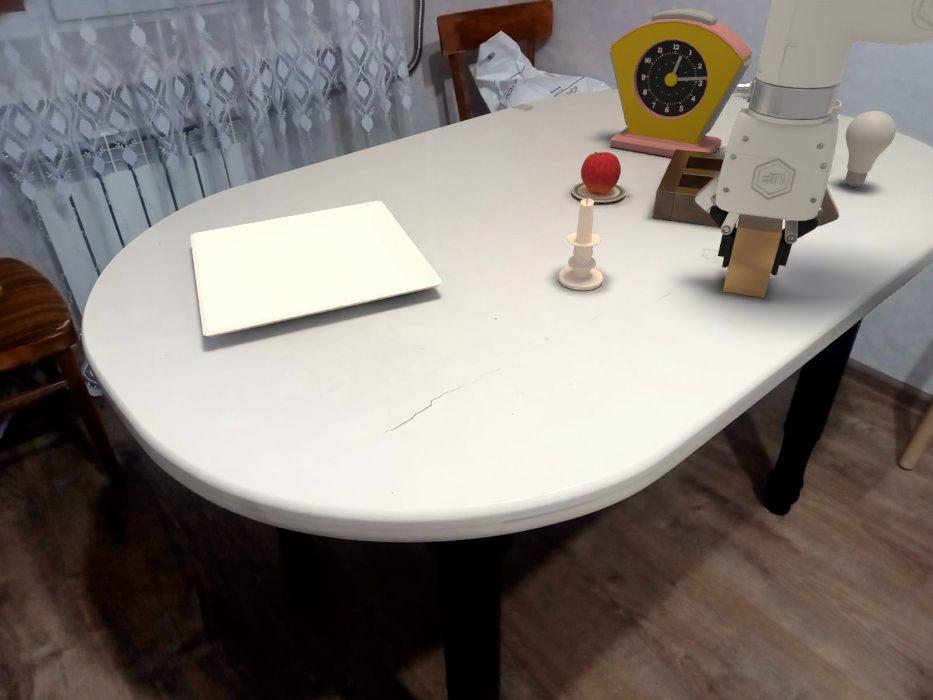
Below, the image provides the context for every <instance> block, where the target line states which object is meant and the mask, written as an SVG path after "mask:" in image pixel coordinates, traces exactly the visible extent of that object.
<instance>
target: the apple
mask: <svg viewBox="0 0 933 700" xmlns="http://www.w3.org/2000/svg"><path fill="white" fill-rule="evenodd" d="M621 173H622V167H621V163H620V160H619V157H617V156H616V155H615V154H614V153H612V152H608V151H602V152H597V151H594V152H593V153H590V154H589V155H588V156H586V158H585V159H584V161H583V163H582V165H581V168H580V178H581V180H582V182H578V183H576V184H574V185H573V186H572V187H571V193H572V195H573V196H574V197H576V198H578V199H580V200H583V199H586V198H587V197H588V198H590V199H592V200H593V201H594V203H610V202H615V201H618V200H621V199H623V198H624V197H625V196H626V194H627V190H626V189H625V187H623V186H622V185H620V184H619V183H618V182H619V180H620V177H621Z"/></svg>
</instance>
